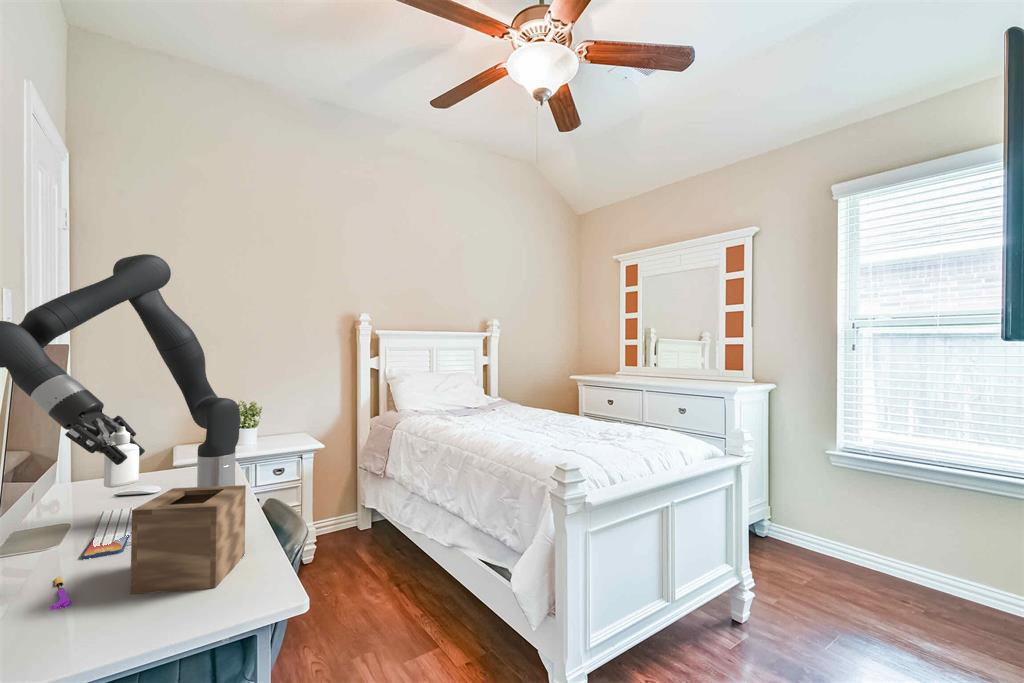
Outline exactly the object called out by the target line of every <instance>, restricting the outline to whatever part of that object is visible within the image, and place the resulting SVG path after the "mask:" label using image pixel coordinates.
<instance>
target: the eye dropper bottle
mask: <svg viewBox="0 0 1024 683" xmlns="http://www.w3.org/2000/svg"><path fill="white" fill-rule="evenodd" d="M114 434H115V433H114ZM129 442H130V433H129V432H127V431H126V429H125V426H123V427H121V428H120V431H119V432H118V433H116V434H115V442H114V445H115V446H116V447H117V448H119V449H120V450H121V451H122V452H123V453H124V454H125V455H127V459H126V460H125V461H124V462H123V463H122V464H119V465H116V464H115V463H114V462H113V461H111V460H110V459H109V458H108V457H107V456H106V455H105V454H104V461H103V462H104V463H103V486H104V487H105V488H110V489H112V488H114V489H115V488H120V487H126V486H128V485H133V484H135V483H137V482H139V480H140V479H139V478H140V457H139V447H138V446H137V445H135V444H130V443H129Z"/></svg>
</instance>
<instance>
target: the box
mask: <svg viewBox="0 0 1024 683" xmlns="http://www.w3.org/2000/svg"><path fill="white" fill-rule="evenodd" d="M246 487H247V486H246V485H244V484H243V485H241V484H240V485H235V486H215V487H197V486H193V487H192V486H191V487H173V488H171V489H169V490H168V491H165V492H164V493H162V494H160V495H157V496H156V497H154V498H152V499H150V500H148V501H147V502H145V503H143V504H141V505H139V506H137V507H136V508H133V509H132V510H131V535H130V537H131V538H130V540H131V541H130V542H131V544H130V545H131V546H130V587H129V588H130V589H129V590H130V592H129V594H130V595H134V594H135V595H137V594H151V593H163V592H175V591H176V592H178V591H191V590H194V591H195V590H204V589H216V588H217V587H218V586H219V585H220V584H221V583H222V581H223V580H224V579H225V578H226V577H227V576H228V575H229V574H230V572H231V571H232V570H233V569H234V568H235V567H236V566H237V565H238V564H239V563H240V562H241V560H242V559H243V558H244V557H245V556H244V554H246V553H245V552H246V496H247V494H246V492H247V491H246V490H247V489H246ZM243 556H244V557H243ZM242 557H243V558H242ZM241 558H242V559H241ZM240 559H241V560H240ZM237 563H238V564H237ZM236 564H237V565H236ZM235 565H236V566H235Z"/></svg>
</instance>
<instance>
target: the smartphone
mask: <svg viewBox="0 0 1024 683" xmlns="http://www.w3.org/2000/svg"><path fill="white" fill-rule="evenodd" d="M125 536H126V535H125ZM125 536H124V537H122V538H120V539H119V540H120V541H119V540H115V541H114V542H112V543H111V544H109V545H108V544H107V545H104V546H103V545H102V543H100V546H96V547H94V546H93V540H94V538H95V536H94V537H93V538H92V539H91V541H90V543H89V544H88V545H87V547H86V548H85V550H84V552H83V553H82V554H81V560H83V559H85V560H90V559H89V558H91V559H97V558H102V557H107V555H108V556H112V555H118V554H121V552H122V553H124V550H125V549H126V547H127V544H126V542H127V540H128V538H129V535H127V536H128V537H127V536H126V537H125ZM129 539H130V538H129ZM128 541H129V540H128ZM127 543H128V542H127ZM125 546H126V547H125Z"/></svg>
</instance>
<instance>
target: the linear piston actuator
mask: <svg viewBox="0 0 1024 683" xmlns="http://www.w3.org/2000/svg"><path fill="white" fill-rule="evenodd" d="M53 580H54V586H55V588H57V585H58V587H59V588H58V590H57V593H58V597H59V600H58V602H57V603H54V604H53V605H51V606H49V610H50V612H51V611H54V610H58V609H61V608H62V607H63V608H64V609H65V607H66V608H69V607H70V606H71V600H70V598H69V597H68V594H67V592H66V589H65V588H64V587H61V586H62V585H61V584H62V583H63V584H64V581H63V580H62V579H61V577H59V576H57V577H55V578H54V579H53ZM68 606H69V607H68ZM60 607H61V608H60Z"/></svg>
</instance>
